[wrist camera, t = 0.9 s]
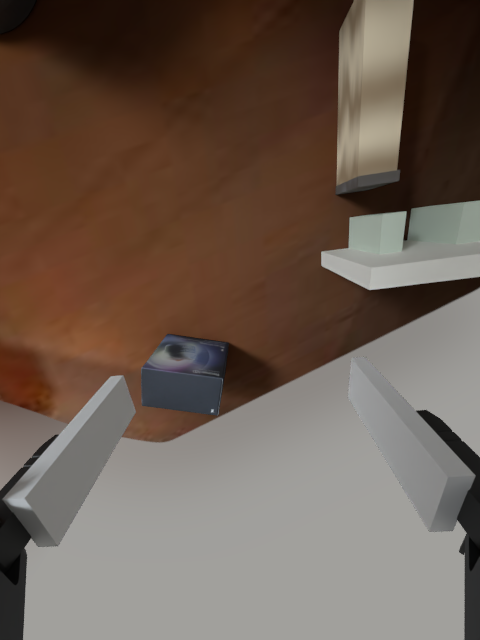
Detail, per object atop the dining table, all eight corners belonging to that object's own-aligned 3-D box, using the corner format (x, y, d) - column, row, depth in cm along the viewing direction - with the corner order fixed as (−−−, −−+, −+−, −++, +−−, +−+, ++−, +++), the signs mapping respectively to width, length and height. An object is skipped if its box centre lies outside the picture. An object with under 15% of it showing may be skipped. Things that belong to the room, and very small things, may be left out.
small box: (230, 339, 39) (225, 378, 29) (225, 372, 41) (219, 418, 31) (166, 331, 38) (139, 367, 29) (165, 365, 41) (140, 408, 31)
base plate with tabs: (321, 221, 32) (375, 217, 19) (460, 201, 30) (620, 183, 18) (321, 265, 34) (369, 290, 21) (451, 248, 33) (587, 263, 20)
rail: (338, 31, 25) (368, -31, 19) (379, 23, 24) (422, -43, 19) (335, 194, 30) (357, 187, 25) (368, 189, 30) (399, 180, 24)
